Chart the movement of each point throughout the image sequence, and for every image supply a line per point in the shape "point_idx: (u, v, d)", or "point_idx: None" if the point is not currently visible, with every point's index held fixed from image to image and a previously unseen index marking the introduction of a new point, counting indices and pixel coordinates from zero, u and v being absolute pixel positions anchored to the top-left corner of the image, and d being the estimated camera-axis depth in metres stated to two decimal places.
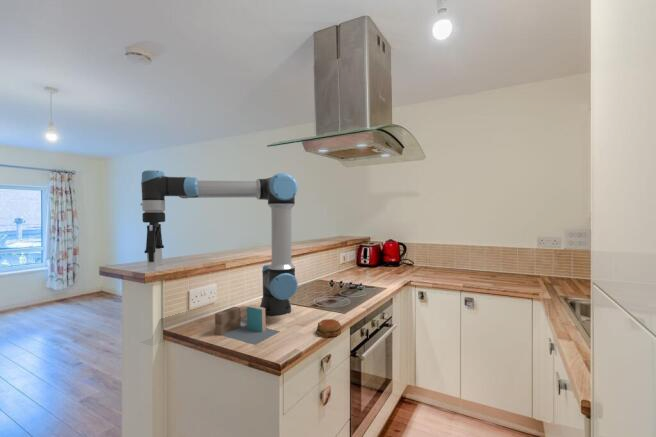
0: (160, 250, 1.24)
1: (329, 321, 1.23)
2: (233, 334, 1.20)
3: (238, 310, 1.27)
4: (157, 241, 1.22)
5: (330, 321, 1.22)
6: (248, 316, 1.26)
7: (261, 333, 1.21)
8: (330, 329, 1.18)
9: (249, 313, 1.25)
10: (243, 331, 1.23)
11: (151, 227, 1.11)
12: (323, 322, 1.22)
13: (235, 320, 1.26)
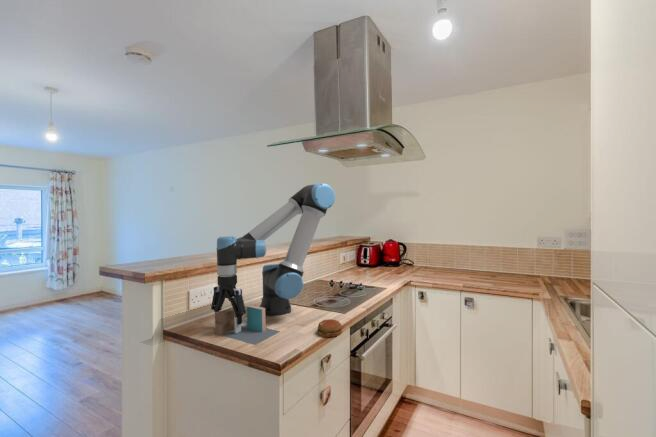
0: None
1: (330, 321, 1.22)
2: (233, 334, 1.20)
3: None
4: None
5: (331, 321, 1.22)
6: (248, 316, 1.26)
7: (261, 333, 1.21)
8: (331, 330, 1.18)
9: (249, 313, 1.25)
10: (243, 331, 1.23)
11: None
12: (324, 322, 1.22)
13: None
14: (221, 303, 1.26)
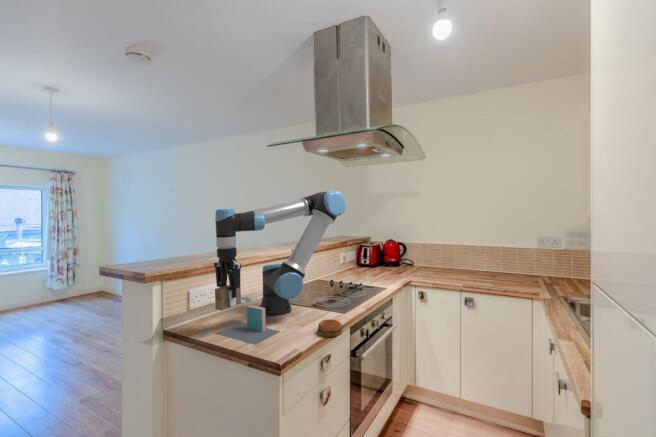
0: None
1: (330, 321, 1.22)
2: (233, 334, 1.20)
3: None
4: None
5: (331, 321, 1.22)
6: (248, 316, 1.26)
7: (261, 333, 1.21)
8: (331, 330, 1.17)
9: (249, 313, 1.25)
10: (243, 331, 1.23)
11: None
12: (324, 322, 1.22)
13: (236, 296, 1.26)
14: (225, 278, 1.25)
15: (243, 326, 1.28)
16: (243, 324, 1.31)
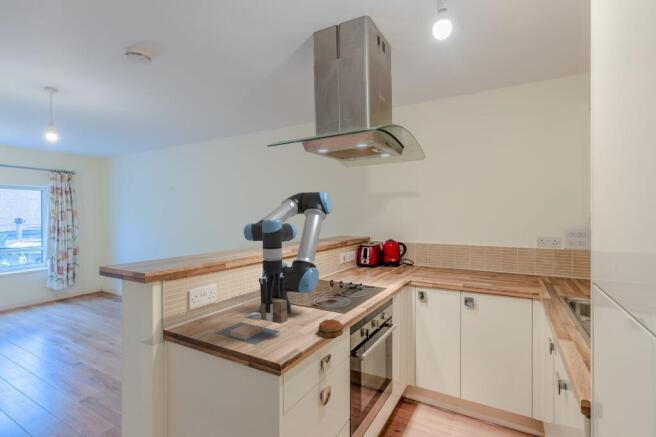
0: None
1: (331, 321, 1.22)
2: None
3: None
4: (276, 290, 1.22)
5: (332, 321, 1.22)
6: None
7: (261, 333, 1.21)
8: (331, 330, 1.17)
9: None
10: None
11: (261, 281, 1.14)
12: (325, 322, 1.22)
13: None
14: None
15: None
16: (243, 324, 1.31)
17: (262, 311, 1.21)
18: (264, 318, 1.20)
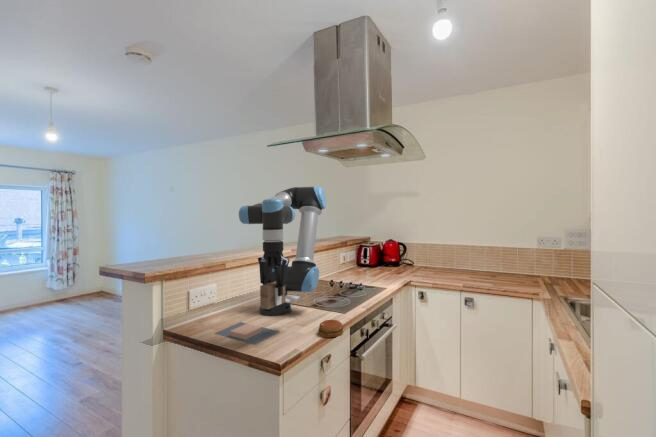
0: None
1: (331, 321, 1.22)
2: None
3: None
4: None
5: (332, 321, 1.22)
6: None
7: (261, 333, 1.21)
8: (332, 330, 1.17)
9: None
10: None
11: None
12: (325, 322, 1.22)
13: None
14: (270, 274, 1.16)
15: None
16: (243, 324, 1.31)
17: None
18: None
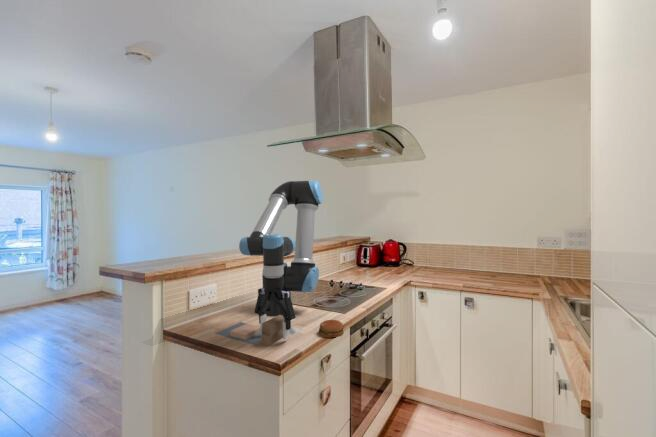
0: None
1: (331, 322, 1.22)
2: None
3: None
4: None
5: (332, 322, 1.22)
6: None
7: None
8: (332, 330, 1.17)
9: None
10: None
11: None
12: (325, 322, 1.21)
13: (282, 330, 1.16)
14: (266, 306, 1.17)
15: None
16: (243, 324, 1.31)
17: None
18: None
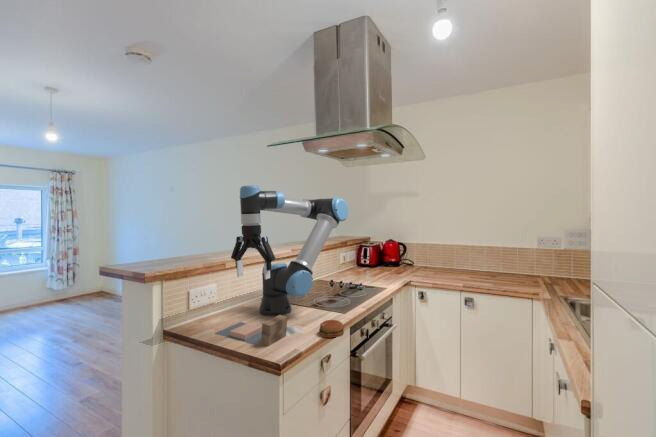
0: None
1: (332, 322, 1.22)
2: None
3: (285, 320, 1.17)
4: None
5: (333, 322, 1.22)
6: None
7: (261, 333, 1.21)
8: (332, 330, 1.17)
9: None
10: None
11: None
12: (325, 323, 1.21)
13: (282, 330, 1.16)
14: (243, 253, 1.25)
15: None
16: (243, 324, 1.31)
17: None
18: None
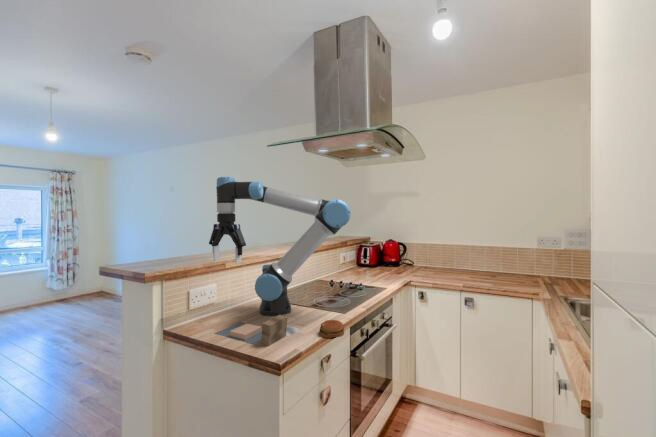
0: None
1: (332, 322, 1.22)
2: None
3: (285, 320, 1.17)
4: None
5: (333, 322, 1.22)
6: None
7: (261, 333, 1.21)
8: (333, 330, 1.17)
9: None
10: None
11: None
12: (326, 323, 1.21)
13: (282, 330, 1.16)
14: (219, 239, 1.36)
15: None
16: (243, 324, 1.31)
17: None
18: None
